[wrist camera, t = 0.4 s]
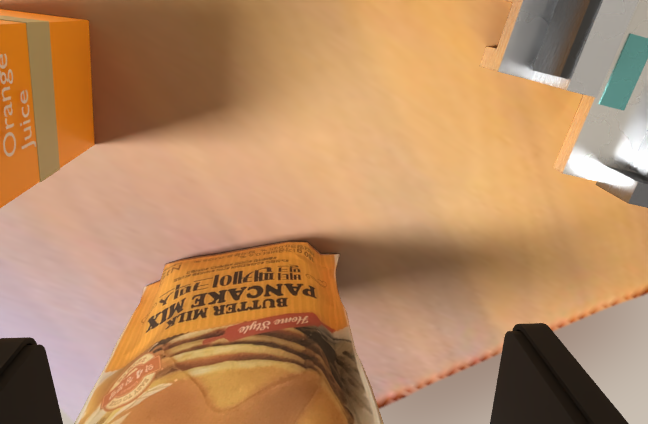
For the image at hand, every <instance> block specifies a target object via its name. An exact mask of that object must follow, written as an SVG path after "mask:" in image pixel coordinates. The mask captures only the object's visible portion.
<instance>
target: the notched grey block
mask: <svg viewBox="0 0 648 424" xmlns="http://www.w3.org/2000/svg"><path fill="white" fill-rule="evenodd" d="M506 1H510V2H513V3H512V6H511V9H510V12H509V15H508V18H507V21H506V24H505V26H504V29H503V32H502V35H501V38H500V41H499V44H498V47H497V48H492V47H486V49H485V52H484V55H483V58H482V61H481V64H480V66H481V67H484V68H488V69H491V70H494V71H498V72H502V73H506V74H510V75H513V76H517V77H521V78H525V79H529V80H533V81H537V82H540V83H543V84H547V85H550V86H554V87H557V88H561V89H564V90H568V91H572V92H576V93H580V94H584V95H588V96H591V97H595V98H597V97H598V94H599V92H600V90H601V87H602V85H603V83H604V80H605V78H606V76H607V73H608V71H609V69H610V66H611V64H612V62H613V60H614V57H615V55H616V53H617V50H618V48H619V46H620V43H621V41H622V39H623V36H624V34H625V32H626V29H627V27H628V25H629V22H630V20H631V18H632V16H633V13H634V11H635V9H636V6H637V4H638V2H639V0H506Z"/></svg>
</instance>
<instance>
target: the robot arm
mask: <svg viewBox="0 0 648 424" xmlns="http://www.w3.org/2000/svg"><path fill="white" fill-rule="evenodd" d="M0 424H63V422H62V418H61V413H60V409H59V405H58V401H57V396H56V392H55V388H54V384H53V380H52V375H51V371H50V367H49V363H48V359H47V355H46V351H45V348H44V347H43V346H42V345H37V343H36V341H35V340H34V339H33V338H1V339H0ZM490 424H628V422H627V421H626V420H625V419H624V418H623V416H622V415H621V414H620V413H619V411H618V410H617V409H616V408H615V407H614V405H613V404H612V403H611V402H610V400H609V399H608V398H607V397H606V396H605V394H604V393H603V392H602V391H601V390H600V388H599V387H598V386H597V385H596V383H595V382H594V381H593V380H592V379H591V377H590V376H589V375H588V374H587V373H586V371H585V370H584V369H583V368H582V367H581V365H580V364H579V363H578V362H577V360H576V359H575V358H574V357H573V356H572V354H571V353H570V352H569V351H568V350H567V348H566V347H565V346H564V345H563V343H562V342H561V341H560V340H559V339H558V337H557V336H556V335H555V334H554V333H553V331H552V330H551V329H550V328H549V327H548V326H547V325H546V324H543V323H536V324H517V325H515V326H514V328H513V331H508V332H507V333H506V334H505V338H504V344H503V350H502V356H501V362H500V368H499V374H498V380H497V386H496V392H495V397H494V403H493V410H492V415H491V422H490Z"/></svg>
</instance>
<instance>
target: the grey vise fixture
mask: <svg viewBox="0 0 648 424" xmlns="http://www.w3.org/2000/svg"><path fill="white" fill-rule="evenodd" d="M553 168H555V169H556V170H558V171H560V172H561V173H563V174H568V175H572V176H577V177H581V178H585V179H590V180H594V181H597V183H596V185H597V186H599V187H600V188H602V189H604V190H606V191H607V192H609V193H611V194H613V195H614V196H616V197H618V198H620V199H621V200H623V201H625V202H627V203H629V204H634V205H638V206H643V207H647V208H648V0H639V2H638V4H637V6H636V9H635V11H634V13H633V16H632V18H631V20H630V22H629V25H628V27H627V29H626V32H625V34H624V36H623V39H622V41H621V43H620V46H619V48H618V50H617V53H616V55H615V57H614V60H613V62H612V64H611V66H610V69H609V71H608V73H607V76H606V78H605V80H604V83H603V85H602V87H601V90H600V92H599V94H598V97H597V98H595V97H591V96H588V95H583V98H582V100H581V102H580V105H579V107H578V109H577V112H576V114H575V117H574V119H573V121H572V124H571V126H570V128H569V131H568V133H567V136H566V138H565V140H564V143H563V145H562V147H561V150H560V152H559V155H558V157H557V159H556V162H555V164H554V166H553Z"/></svg>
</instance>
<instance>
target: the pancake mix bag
mask: <svg viewBox="0 0 648 424" xmlns="http://www.w3.org/2000/svg"><path fill="white" fill-rule="evenodd" d="M339 256H340V254H320V253H319V252H318V251H317V250H316V249H315V248H313V247H312V246H311V245H310V244H309V243H308V242H282V243H276V244H270V245H264V246H258V247H253V248H247V249H241V250H236V251H230V252H225V253H220V254H214V255H206V256H199V257H193V258H187V259H182V260H178V261H174V262H171V263H167V264H165V267H164V271H163V274H162V277H161V280H160V281H157V282H155V283H153V284H150V285H148V286H146V287H144V288H143V293H142V297H141V301H140V304H139V306H138V307H137V308H136V310H135V311H134V313H133V314H132V316H131V318H130V320H129V322H128V324H127V325H126V327H125V329H124V331H123V333H122V334H121V336H120V338H119V340H118V341H117V343H116V345H115V348H114V350H113V352H112V354H111V357H110V359H109V361H108V362H107V364H106V366H105V368H104V370H103V372H102V374H101V375H100V377H99V379H98V381H97V382H96V384H95V386H94V388H93V389H92V391H91V393H90V395H89V397H88V399H87V401H86V403H85V405H84V407H83V408H82V410H81V412H80V414H79V416H78V418H77V419H76V421H75V423H74V424H383V420H382V417H381V414H380V412H379V409H378V406H377V403H376V399H375V396H374V393H373V390H372V387H371V385H370V382H369V380H368V377H367V375H366V373H365V370H364V368H363V365H362V363H361V361H360V359H359V357H358V355H357V353H356V350H355V346H354V341H353V337H352V333H351V329H350V326H349V321H348V316H347V312H346V310H345V308H344V306H343V304H342V302H341V300H340V296H339V293H338V289H337V283H336V267H337V264H338V260H339Z"/></svg>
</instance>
